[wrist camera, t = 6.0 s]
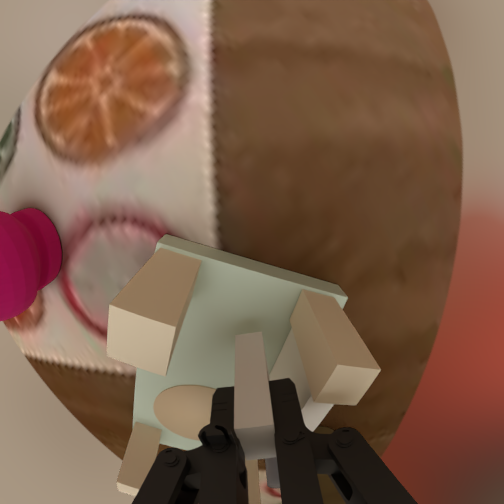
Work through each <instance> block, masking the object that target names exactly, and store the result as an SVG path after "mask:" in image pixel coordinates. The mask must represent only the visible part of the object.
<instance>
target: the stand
mask: <svg viewBox="0 0 504 504" xmlns="http://www.w3.org/2000/svg"><path fill="white" fill-rule="evenodd" d="M302 289H304V290H308V291H312V292H315V293H319V294H323V295H327V296H330V297H334V298H335V299H336V301H337V302H338V304H339V305H340V307H341V308H342V309H343V307H344V305H345V303H346V301H347V299H348V297H347V296H346V294H345V293H344V292H343V290H342V289H341V288H340V286H339V285H337V284H333V283H330V282H326V281H323V280H320V279H316V278H313V277H309V276H306V275H302V274H299V273H296V272H292V271H289V270H285V269H282V268H279V267H275V266H272V265H268V264H265V263H262V262H258V261H255V260H252V259H248V258H245V257H241V256H238V255H235V254H231V253H228V252H225V251H221V250H218V249H215V248H211V247H208V246H205V245H201V244H198V243H195V242H191V241H188V240H185V239H181V238H178V237H175V236H172V235H168V234H165V235H164V236H163V237H162V238H161V239H160V240H159V241H158V242H157V245H156V250H155V254H154V255H153V256H152V257H151V258H150V259H149V260H148V261H147V262H146V263H145V265H144V266H143V267H142V268H141V269H140V270H139V271H138V272H137V273H136V275H135V276H134V277H133V278H132V279H131V280H130V281H129V282H128V284H127V285H126V286H125V287H124V288H123V289H122V290H121V292H120V293H119V294H118V295H117V296H116V297H115V299H114V300H113V301H112V302H111V303H110V304H109V316H108V333H107V356H108V357H110V358H113V359H115V360H118V361H121V362H123V363H126V364H129V365H132V366H134V367H137V371H136V382H135V395H134V411H133V431H132V434H131V437H130V440H129V443H128V446H127V449H126V452H125V455H124V459H123V462H122V465H121V469H120V472H119V475H118V478H117V487H118V491H120V492H123V493H126V494H129V495H133V496H136V495H137V493H138V491H139V489H140V487H141V486H142V484H143V482H144V480H145V478H146V476H147V474H148V472H149V471H150V469H151V467H152V465H153V463H154V461H155V459H156V455H157V451H158V447H159V443H161V444H164V445H168V446H172V447H176V448H180V449H184V450H191V449H195V448H197V447H200V446H201V445H202V443H201V441H200V439H199V437H198V434H199V431H200V430H201V429H202V428H203V427H204V426H206V425H208V424H210V417H211V406H212V396H213V394H214V392H215V391H216V389H217V388H221V387H231V386H234V383H235V335H240V334H247V333H254V332H261V331H262V336H263V342H264V347H265V353H266V359H267V365H268V371H269V375H270V373H271V371H272V369H273V366H274V364H275V362H276V360H277V358H278V356H279V354H280V352H281V350H282V348H283V345H284V343H285V341H286V339H287V337H288V335H289V332H290V330H291V328H292V327H291V323H290V317H291V315H292V313H293V310H294V308H295V306H296V303H297V301H298V299H299V296H300V294H301V292H302ZM265 463H266V475H267V485H268V486H269V487H271V488H280V482H279V474H278V465H277V457H274V458H266V459H265ZM245 466H246V468H247V475H248V499H249V504H261V502H260V488H259V473H258V459H257V460H247V461H246V458H245Z"/></svg>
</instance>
